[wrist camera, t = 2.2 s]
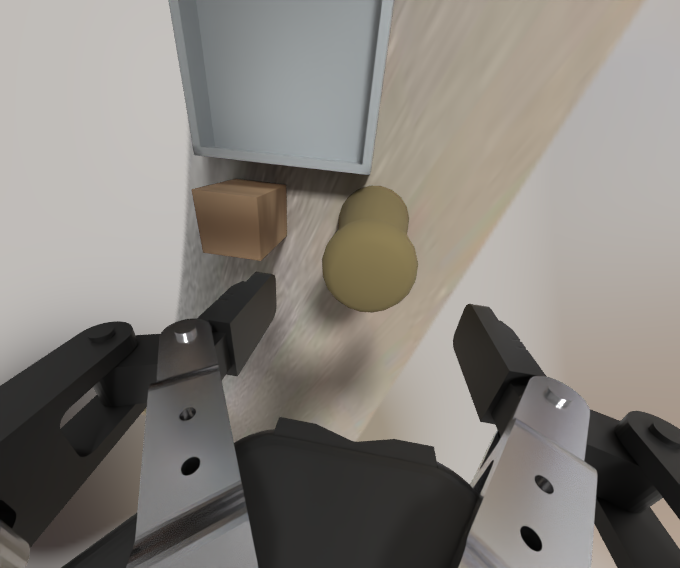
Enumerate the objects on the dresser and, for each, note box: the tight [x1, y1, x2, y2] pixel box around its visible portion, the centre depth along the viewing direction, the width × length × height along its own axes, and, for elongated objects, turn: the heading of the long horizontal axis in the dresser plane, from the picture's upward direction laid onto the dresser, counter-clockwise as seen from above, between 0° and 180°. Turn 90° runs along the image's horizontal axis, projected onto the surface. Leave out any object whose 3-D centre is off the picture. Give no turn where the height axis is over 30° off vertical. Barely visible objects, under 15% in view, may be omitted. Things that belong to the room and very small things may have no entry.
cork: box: [322, 186, 418, 312], centre depth 18 cm, size 6×6×11 cm
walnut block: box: [192, 179, 287, 261], centre depth 21 cm, size 4×4×6 cm
